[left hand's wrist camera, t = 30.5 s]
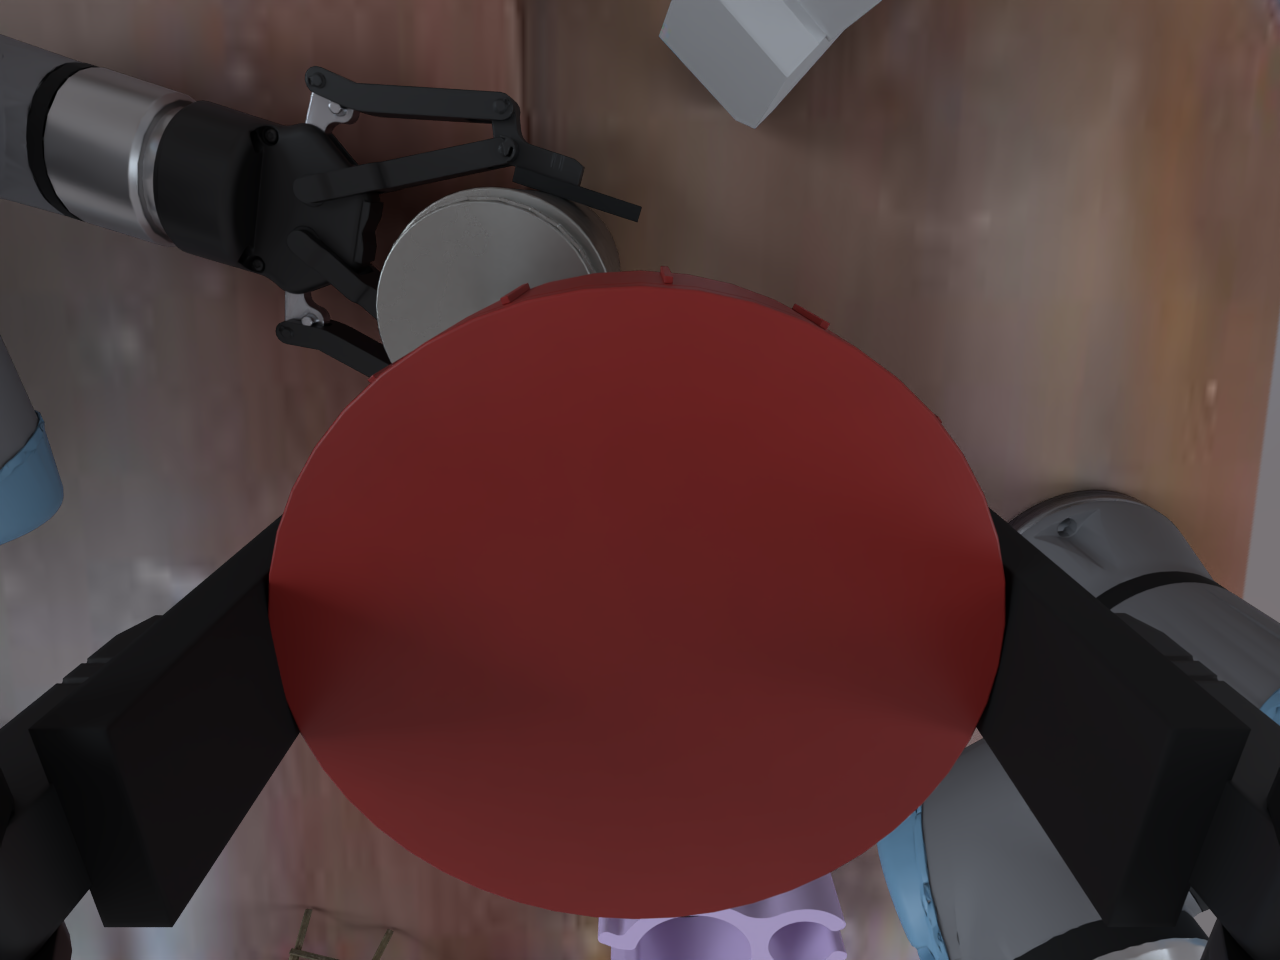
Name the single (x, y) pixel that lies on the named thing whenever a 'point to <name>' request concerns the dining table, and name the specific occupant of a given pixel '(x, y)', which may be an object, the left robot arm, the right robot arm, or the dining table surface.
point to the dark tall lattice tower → (297, 952)
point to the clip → (739, 930)
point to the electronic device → (755, 46)
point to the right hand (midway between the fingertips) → (612, 307)
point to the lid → (637, 598)
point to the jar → (482, 258)
